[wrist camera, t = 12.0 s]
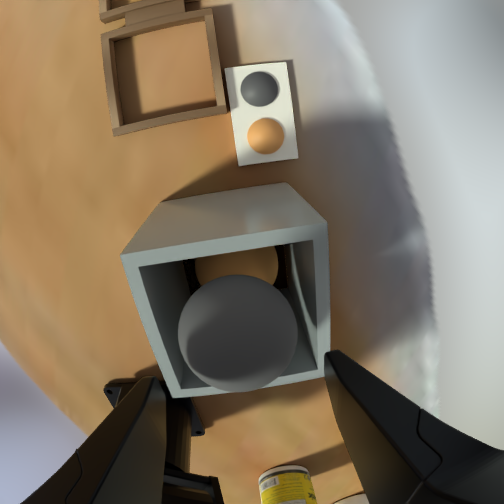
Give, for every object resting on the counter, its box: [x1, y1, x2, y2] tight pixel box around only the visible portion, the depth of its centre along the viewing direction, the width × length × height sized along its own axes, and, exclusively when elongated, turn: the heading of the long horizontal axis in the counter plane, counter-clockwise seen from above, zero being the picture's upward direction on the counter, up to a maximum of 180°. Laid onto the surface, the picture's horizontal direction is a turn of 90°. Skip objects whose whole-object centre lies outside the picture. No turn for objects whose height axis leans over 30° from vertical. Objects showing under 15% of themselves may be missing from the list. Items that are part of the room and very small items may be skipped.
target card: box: [225, 62, 298, 166], centre depth 15 cm, size 5×3×1 cm, turn 8°
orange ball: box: [195, 246, 278, 286], centre depth 16 cm, size 4×4×4 cm
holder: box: [99, 0, 227, 136], centre depth 12 cm, size 12×6×1 cm, turn 8°
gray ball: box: [178, 275, 298, 392], centre depth 11 cm, size 4×4×4 cm
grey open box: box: [120, 182, 330, 398], centre depth 14 cm, size 7×7×7 cm
